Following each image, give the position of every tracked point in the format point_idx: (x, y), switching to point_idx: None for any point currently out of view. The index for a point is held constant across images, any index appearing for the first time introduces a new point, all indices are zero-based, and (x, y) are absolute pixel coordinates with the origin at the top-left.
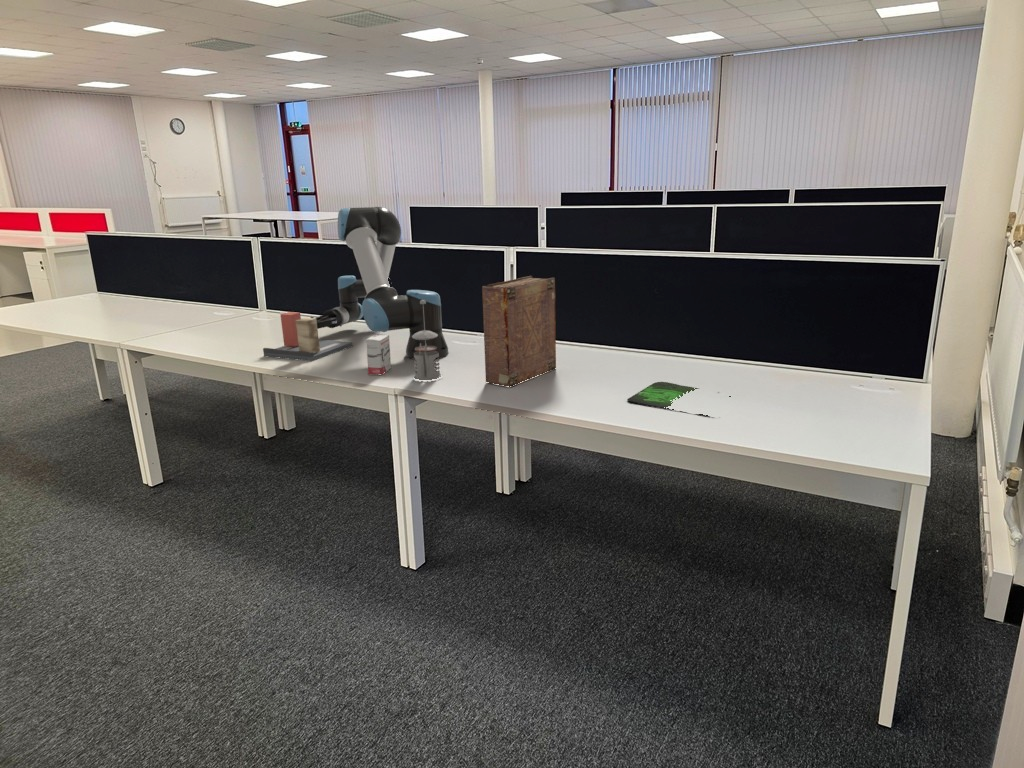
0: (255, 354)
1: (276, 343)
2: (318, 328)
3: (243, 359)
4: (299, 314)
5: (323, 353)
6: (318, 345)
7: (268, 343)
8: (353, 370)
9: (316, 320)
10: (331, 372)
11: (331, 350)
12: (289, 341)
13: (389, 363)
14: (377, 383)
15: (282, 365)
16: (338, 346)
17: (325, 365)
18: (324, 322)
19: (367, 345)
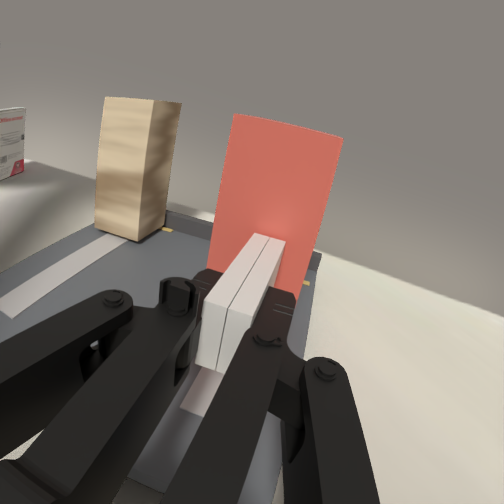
0: (365, 303)
1: (448, 459)
2: (97, 352)
3: (350, 268)
4: (234, 127)
5: (83, 230)
6: (98, 203)
7: (480, 448)
8: (37, 181)
9: (104, 104)
10: (77, 181)
11: (51, 247)
12: None
13: None
14: (26, 159)
15: (196, 217)
16: (13, 273)
17: (84, 201)
18: (10, 356)
19: (24, 117)
